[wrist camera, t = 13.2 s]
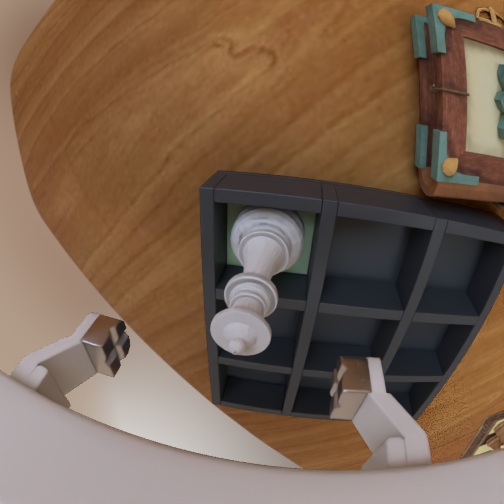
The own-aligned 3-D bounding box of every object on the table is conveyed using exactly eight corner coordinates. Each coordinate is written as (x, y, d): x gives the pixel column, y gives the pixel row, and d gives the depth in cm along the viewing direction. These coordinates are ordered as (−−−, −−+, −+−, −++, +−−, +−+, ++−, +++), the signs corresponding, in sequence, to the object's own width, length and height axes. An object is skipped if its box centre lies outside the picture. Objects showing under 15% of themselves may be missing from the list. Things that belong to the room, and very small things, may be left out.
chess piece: (243, 265, 21) (198, 386, 12) (227, 204, 19) (158, 307, 10) (309, 258, 19) (303, 387, 11) (299, 193, 18) (287, 299, 9)
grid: (221, 375, 28) (212, 404, 25) (217, 169, 18) (198, 186, 15) (411, 392, 26) (416, 420, 23) (497, 214, 16) (523, 236, 13)
